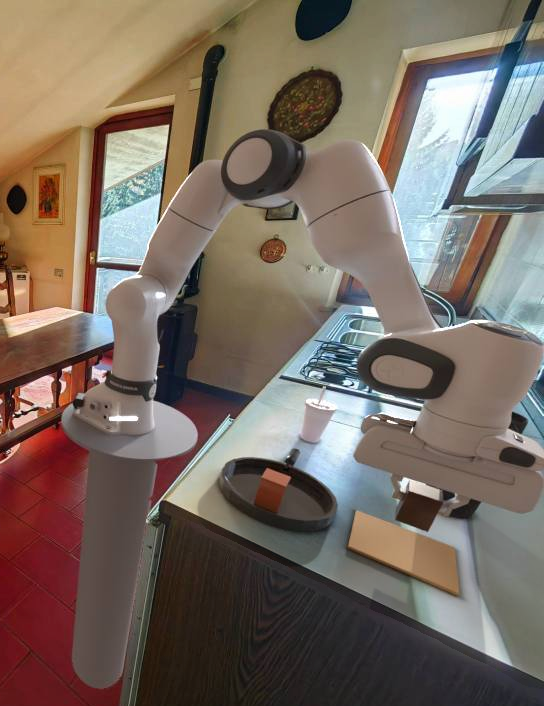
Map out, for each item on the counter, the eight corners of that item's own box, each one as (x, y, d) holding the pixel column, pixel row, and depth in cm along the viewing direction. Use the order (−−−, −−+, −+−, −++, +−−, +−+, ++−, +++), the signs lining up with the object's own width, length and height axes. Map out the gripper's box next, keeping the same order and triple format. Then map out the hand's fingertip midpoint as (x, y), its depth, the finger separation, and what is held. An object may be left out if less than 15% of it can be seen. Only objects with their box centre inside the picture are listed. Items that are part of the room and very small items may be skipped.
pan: (204, 496, 76) (207, 485, 75) (236, 456, 89) (239, 447, 88) (323, 549, 64) (328, 538, 63) (340, 494, 77) (344, 484, 76)
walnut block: (394, 520, 65) (408, 490, 62) (395, 508, 67) (409, 479, 65) (427, 532, 62) (443, 502, 60) (427, 519, 65) (442, 490, 62)
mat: (347, 548, 64) (348, 545, 64) (355, 512, 72) (356, 509, 72) (458, 596, 56) (459, 594, 56) (453, 549, 64) (454, 547, 64)
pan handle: (279, 470, 83) (282, 463, 82) (290, 452, 89) (292, 445, 89) (289, 474, 82) (292, 467, 81) (299, 455, 88) (301, 448, 87)
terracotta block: (253, 503, 73) (261, 477, 71) (259, 493, 76) (267, 467, 74) (277, 513, 71) (286, 486, 69) (282, 503, 74) (291, 476, 71)
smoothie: (306, 430, 101) (322, 381, 95) (331, 443, 95) (350, 391, 90) (288, 434, 99) (304, 384, 93) (313, 447, 93) (331, 394, 88)
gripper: (365, 415, 62) (338, 486, 68) (568, 467, 50) (514, 548, 55) (369, 403, 67) (343, 470, 72) (556, 448, 54) (508, 525, 59)
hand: (418, 505), depth 63 cm, fingers closed on walnut block, 4 cm apart
